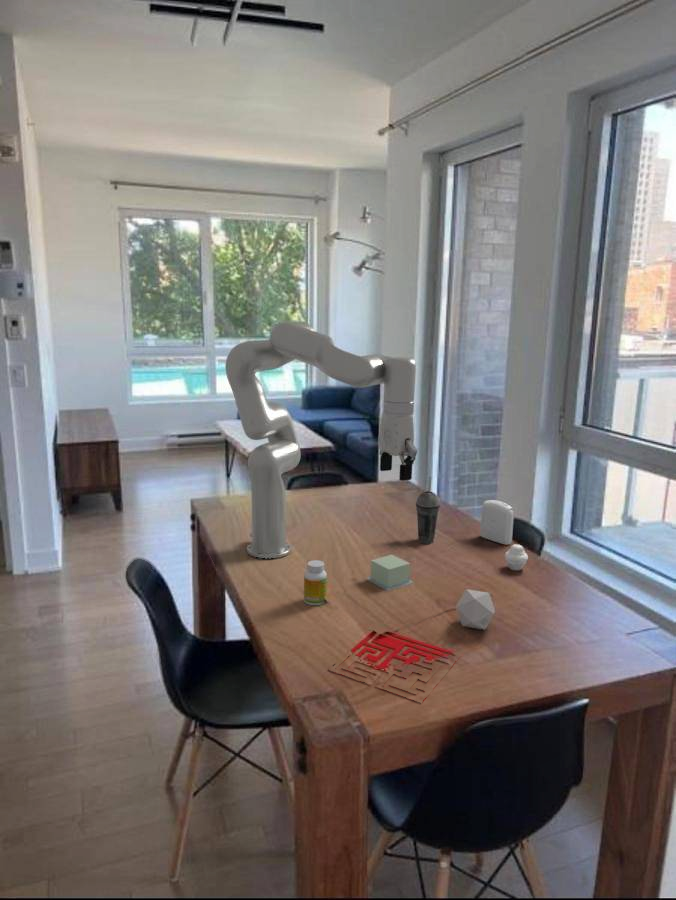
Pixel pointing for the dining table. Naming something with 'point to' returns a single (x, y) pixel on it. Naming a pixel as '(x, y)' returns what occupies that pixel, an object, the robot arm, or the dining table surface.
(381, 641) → the maze puzzle
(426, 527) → the beverage cup
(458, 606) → the die
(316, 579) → the supplement bottle
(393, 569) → the base block
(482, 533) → the photo printer
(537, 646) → the dining table surface
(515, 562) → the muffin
